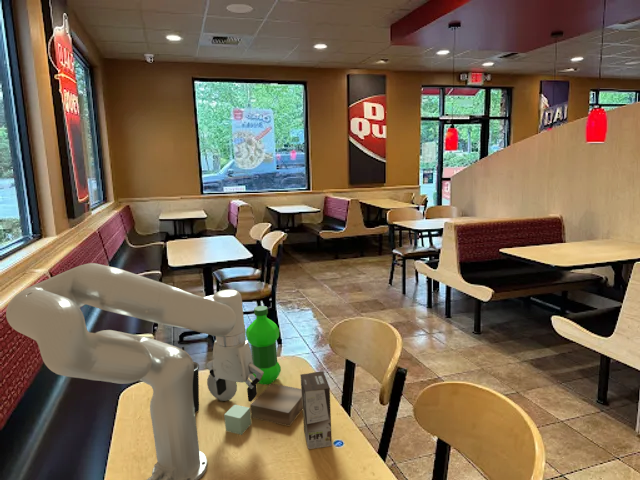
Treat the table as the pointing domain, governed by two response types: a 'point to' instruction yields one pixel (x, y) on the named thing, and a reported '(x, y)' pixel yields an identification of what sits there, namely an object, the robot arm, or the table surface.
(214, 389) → the donut
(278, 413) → the walnut plinth
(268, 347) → the plastic bottle
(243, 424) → the green block
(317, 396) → the coffee box
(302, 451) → the table surface
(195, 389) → the drinking cup
